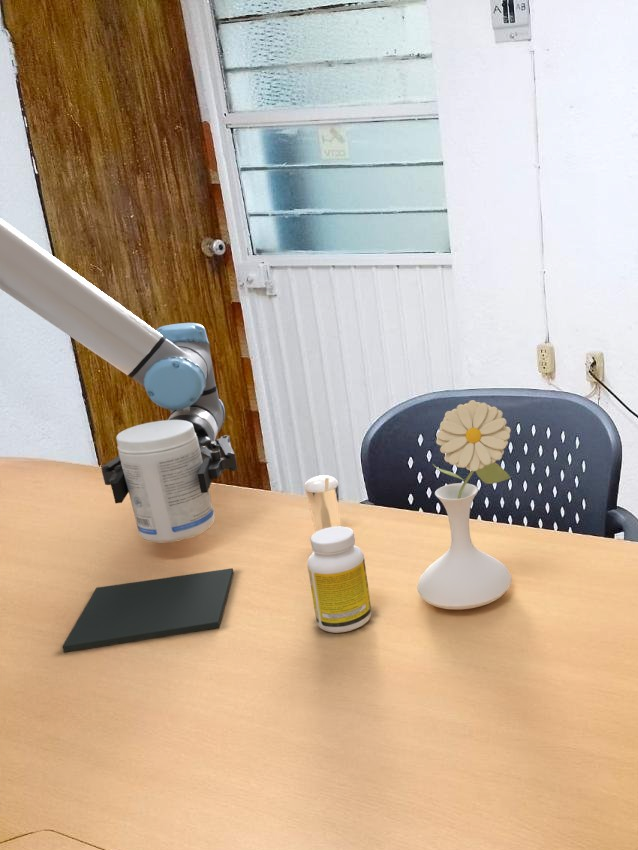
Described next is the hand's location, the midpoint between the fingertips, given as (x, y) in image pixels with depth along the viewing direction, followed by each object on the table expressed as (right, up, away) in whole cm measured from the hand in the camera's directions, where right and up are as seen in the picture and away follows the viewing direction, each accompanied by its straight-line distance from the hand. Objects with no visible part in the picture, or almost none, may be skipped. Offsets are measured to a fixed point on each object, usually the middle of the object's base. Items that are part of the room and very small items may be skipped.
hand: (159, 488), depth 108 cm
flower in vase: (+42, -13, -7) cm, 44 cm away
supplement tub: (-1, -6, +7) cm, 9 cm away
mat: (+4, -14, -8) cm, 17 cm away
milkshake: (+19, -8, +10) cm, 23 cm away
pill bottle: (+28, -15, -11) cm, 33 cm away
